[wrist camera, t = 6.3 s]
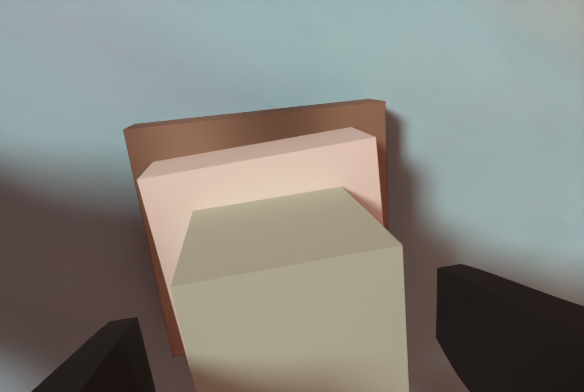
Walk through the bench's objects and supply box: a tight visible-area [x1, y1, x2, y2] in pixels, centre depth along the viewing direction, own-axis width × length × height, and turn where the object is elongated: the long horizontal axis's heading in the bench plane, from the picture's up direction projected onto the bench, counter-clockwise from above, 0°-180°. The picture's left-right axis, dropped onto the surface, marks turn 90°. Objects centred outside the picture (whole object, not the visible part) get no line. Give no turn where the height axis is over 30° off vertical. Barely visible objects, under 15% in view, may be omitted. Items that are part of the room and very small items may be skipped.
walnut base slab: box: [123, 99, 388, 357], centre depth 16 cm, size 9×9×2 cm
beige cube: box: [170, 187, 409, 392], centre depth 10 cm, size 4×4×4 cm
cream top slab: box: [137, 127, 383, 371], centre depth 14 cm, size 7×7×2 cm
